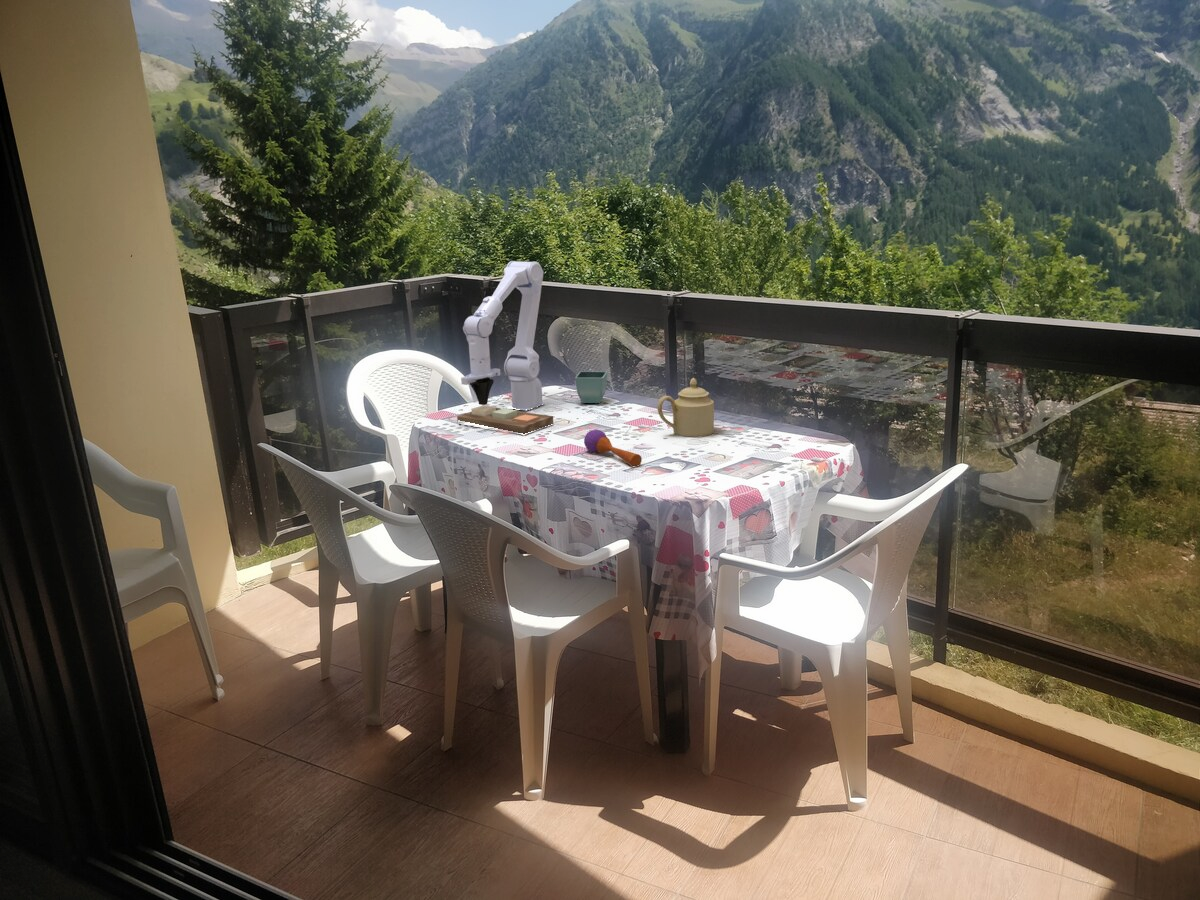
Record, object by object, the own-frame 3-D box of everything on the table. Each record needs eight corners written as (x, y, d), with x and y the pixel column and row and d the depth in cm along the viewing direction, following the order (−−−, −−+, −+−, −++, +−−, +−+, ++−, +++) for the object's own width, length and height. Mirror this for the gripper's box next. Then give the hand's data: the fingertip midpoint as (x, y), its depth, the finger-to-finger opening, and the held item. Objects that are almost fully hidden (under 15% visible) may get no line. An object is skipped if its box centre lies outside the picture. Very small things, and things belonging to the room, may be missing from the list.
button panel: (488, 414, 286) (487, 406, 285) (553, 424, 272) (553, 416, 271) (457, 424, 276) (457, 416, 275) (524, 435, 261) (523, 426, 261)
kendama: (624, 454, 228) (578, 431, 244) (628, 476, 231) (581, 452, 246) (644, 445, 231) (596, 423, 246) (647, 467, 234) (600, 443, 249)
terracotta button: (525, 423, 272) (524, 414, 272) (539, 425, 269) (538, 416, 269) (514, 427, 268) (513, 418, 268) (527, 429, 266) (527, 420, 265)
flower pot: (604, 406, 290) (603, 377, 288) (575, 406, 292) (574, 377, 289) (608, 399, 299) (607, 371, 296) (580, 399, 300) (579, 371, 297)
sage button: (504, 416, 276) (503, 408, 276) (517, 418, 274) (516, 410, 273) (492, 420, 273) (491, 412, 272) (505, 422, 270) (505, 414, 269)
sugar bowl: (687, 443, 249) (687, 386, 245) (655, 436, 256) (654, 381, 252) (722, 430, 259) (722, 376, 255) (690, 424, 267) (689, 371, 262)
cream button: (483, 413, 281) (482, 405, 280) (496, 415, 278) (495, 407, 277) (472, 417, 277) (471, 408, 276) (484, 419, 274) (484, 410, 274)
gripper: (472, 363, 265) (476, 411, 269) (507, 354, 276) (509, 400, 280) (454, 361, 269) (458, 408, 273) (488, 352, 280) (491, 397, 284)
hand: (483, 404), depth 277 cm, fingers closed
